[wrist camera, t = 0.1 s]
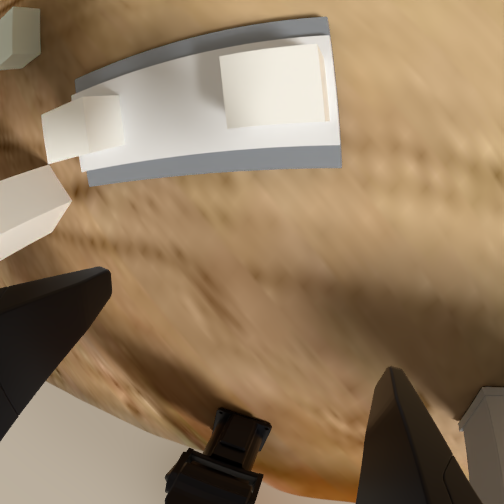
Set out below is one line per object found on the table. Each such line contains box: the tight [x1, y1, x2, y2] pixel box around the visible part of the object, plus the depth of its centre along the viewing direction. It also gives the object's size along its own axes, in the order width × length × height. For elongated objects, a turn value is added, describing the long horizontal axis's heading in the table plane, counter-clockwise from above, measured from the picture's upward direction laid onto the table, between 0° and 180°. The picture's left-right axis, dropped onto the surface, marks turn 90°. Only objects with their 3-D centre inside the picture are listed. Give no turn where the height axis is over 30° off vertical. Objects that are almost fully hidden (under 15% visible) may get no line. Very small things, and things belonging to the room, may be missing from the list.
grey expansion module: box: [0, 165, 72, 261], centre depth 24 cm, size 5×6×12 cm
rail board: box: [41, 17, 342, 187], centre depth 19 cm, size 10×21×6 cm, turn 96°
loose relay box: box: [0, 6, 41, 70], centre depth 21 cm, size 6×4×4 cm, turn 9°
